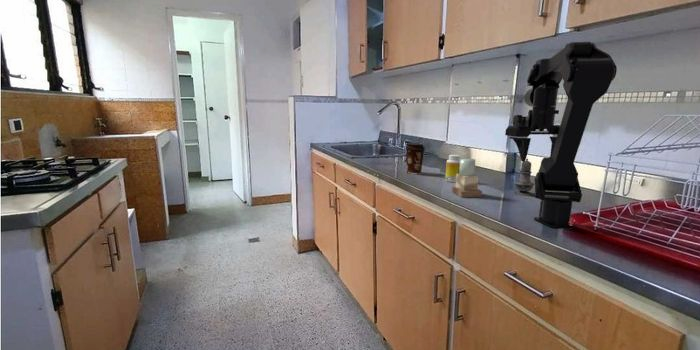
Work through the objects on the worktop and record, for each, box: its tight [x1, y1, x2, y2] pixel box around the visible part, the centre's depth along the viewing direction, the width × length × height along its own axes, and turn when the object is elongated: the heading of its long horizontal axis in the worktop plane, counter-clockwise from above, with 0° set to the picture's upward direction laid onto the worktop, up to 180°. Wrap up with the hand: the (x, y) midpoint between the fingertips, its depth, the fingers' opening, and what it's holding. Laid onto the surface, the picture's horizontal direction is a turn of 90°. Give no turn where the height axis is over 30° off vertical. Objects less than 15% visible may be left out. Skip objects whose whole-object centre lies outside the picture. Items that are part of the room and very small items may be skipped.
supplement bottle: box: [445, 154, 461, 183], centre depth 131 cm, size 6×6×10 cm
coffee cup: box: [405, 142, 426, 175], centre depth 147 cm, size 9×8×13 cm
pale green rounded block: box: [459, 158, 476, 176], centre depth 110 cm, size 5×5×5 cm
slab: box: [451, 186, 483, 198], centre depth 111 cm, size 7×7×2 cm
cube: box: [454, 174, 479, 190], centre depth 111 cm, size 5×5×4 cm
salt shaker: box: [514, 158, 535, 197], centre depth 112 cm, size 6×6×12 cm
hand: (537, 161), depth 97 cm, fingers open, 9 cm apart
